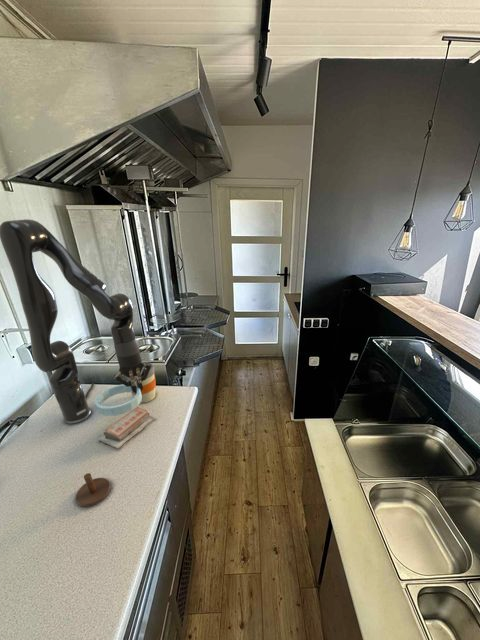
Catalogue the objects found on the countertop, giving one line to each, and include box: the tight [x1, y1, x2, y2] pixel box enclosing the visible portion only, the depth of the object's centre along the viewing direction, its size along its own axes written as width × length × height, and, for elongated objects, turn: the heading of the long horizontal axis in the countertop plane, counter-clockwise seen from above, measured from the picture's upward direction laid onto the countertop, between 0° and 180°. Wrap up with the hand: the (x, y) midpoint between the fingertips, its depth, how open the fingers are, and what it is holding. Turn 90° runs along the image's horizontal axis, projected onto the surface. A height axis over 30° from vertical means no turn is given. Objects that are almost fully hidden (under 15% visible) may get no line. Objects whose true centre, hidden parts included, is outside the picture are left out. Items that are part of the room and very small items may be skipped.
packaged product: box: [98, 406, 155, 450], centre depth 110 cm, size 18×5×10 cm
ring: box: [93, 383, 142, 417], centre depth 104 cm, size 15×15×3 cm
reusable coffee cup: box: [123, 361, 157, 404], centre depth 128 cm, size 13×13×15 cm
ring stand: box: [75, 472, 111, 508], centre depth 85 cm, size 9×9×8 cm
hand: (137, 391), depth 109 cm, fingers closed on ring, 1 cm apart
